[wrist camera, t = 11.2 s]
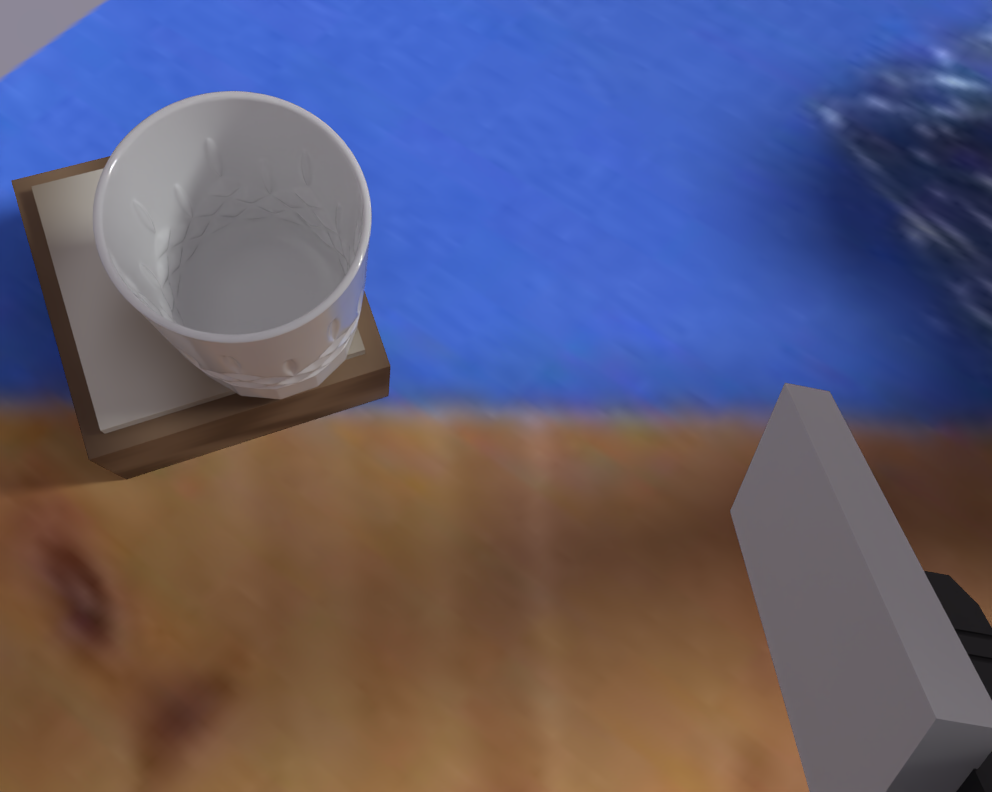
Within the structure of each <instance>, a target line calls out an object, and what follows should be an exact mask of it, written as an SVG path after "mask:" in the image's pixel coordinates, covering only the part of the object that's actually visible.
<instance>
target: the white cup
mask: <svg viewBox="0 0 992 792" xmlns="http://www.w3.org/2000/svg"><path fill="white" fill-rule="evenodd" d="M93 231H94V238H95V243H96V247H97V250H98V254H99V257H100V259H101V262H102V264H103V266H104V268H105V270H106V272H107V274H108V276H109V278H110V279H111V281H112V282H113V284H114V285H115V287H116V288H117V289H118V291H119V292H120V293H121V294H122V295H123V297H124V298H125V299H126V300H127V301H128V302H129V303H130V304H131V305H132V306H133V307H134V308H135V309H136V310H137V311H138V312H139V313H140V314H141V315H142V316H143V317H144V318H145V319H146V320H147V321H148V322H149V323H150V324H151V325H152V326H153V327H154V328H155V329H156V330H157V331H158V332H159V333H160V334H161V335H162V336H163V337H164V338H165V339H166V340H167V341H168V342H169V343H170V344H171V345H172V346H173V347H174V348H175V349H176V350H177V351H179V352H180V353H181V354H182V355H183V356H184V357H185V358H186V359H188V360H189V361H190V362H191V363H192V364H194V365H195V366H196V367H197V368H199V369H200V370H201V371H203V372H204V373H205V374H206V375H207V376H208V377H210V378H211V379H213V380H215V381H217V382H218V383H220V384H222V385H223V386H225V387H227V388H228V389H230V390H232V391H234V392H235V393H237V394H239V395H241V396H248V397H259V398H270V399H284V398H287V397H289V396H292V395H295V394H298V393H301V392H304V391H307V390H310V389H312V388H315V387H318V386H319V385H320V384H321V383H322V382H323V381H324V380H325V379H326V378H327V377H328V376H329V375H330V374H332V373H333V372H334V371H335V370H336V369H337V368H338V367H339V366H340V365H341V364H342V363H343V362H344V361H345V360H346V357H347V354H348V352H349V349H350V346H351V343H352V340H353V338H354V335H355V332H356V329H357V326H358V320H359V316H360V312H361V307H362V301H363V295H364V289H365V282H366V271H367V260H368V249H369V240H370V231H371V203H370V196H369V191H368V187H367V184H366V180H365V178H364V175H363V172H362V170H361V168H360V166H359V164H358V162H357V160H356V158H355V157H354V155H353V153H352V152H351V150H350V149H349V148H348V146H347V145H346V144H345V142H344V141H343V140H342V139H341V138H340V137H339V136H338V134H337V133H336V132H335V131H334V130H332V129H331V128H330V127H329V126H328V125H327V124H326V123H324V122H323V121H322V120H320V119H319V118H318V117H316V116H315V115H313V114H312V113H310V112H308V111H307V110H305V109H303V108H301V107H299V106H297V105H295V104H293V103H290V102H288V101H285V100H282V99H279V98H276V97H272V96H268V95H264V94H259V93H252V92H241V91H225V92H213V93H207V94H202V95H197V96H193V97H189V98H186V99H183V100H180V101H178V102H175V103H173V104H170V105H168V106H166V107H164V108H162V109H160V110H159V111H157V112H155V113H154V114H152V115H150V116H149V117H147V118H146V119H145V120H143V121H142V122H141V123H139V124H138V125H137V126H136V127H135V128H134V129H132V130H131V131H130V132H129V133H128V134H127V135H126V136H125V138H124V139H123V140H122V141H121V142H120V143H119V145H118V146H117V147H116V149H115V150H114V151H113V153H112V155H111V156H110V158H109V159H108V161H107V163H106V165H105V167H104V169H103V171H102V174H101V176H100V179H99V182H98V185H97V189H96V193H95V198H94V204H93Z"/></svg>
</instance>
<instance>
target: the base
mask: <svg viewBox="0 0 992 792" xmlns="http://www.w3.org/2000/svg"><path fill="white" fill-rule="evenodd" d="M109 158H110V156H109V157H105V158H101V159H97V160H93V161H89V162H85V163H81V164H77V165H73V166H69V167H65V168H61V169H57V170H53V171H49V172H44V173H40V174H36V175H32V176H28V177H24V178H20V179H16V180H12V185H13V188H14V192H15V196H16V199H17V203H18V206H19V210H20V213H21V217H22V221H23V224H24V228H25V231H26V235H27V239H28V242H29V246H30V249H31V253H32V257H33V260H34V264H35V267H36V271H37V275H38V278H39V282H40V285H41V289H42V293H43V296H44V300H45V303H46V307H47V310H48V314H49V318H50V321H51V325H52V328H53V332H54V336H55V339H56V343H57V346H58V350H59V354H60V357H61V361H62V364H63V368H64V372H65V375H66V379H67V382H68V386H69V389H70V393H71V397H72V400H73V404H74V407H75V411H76V415H77V418H78V422H79V425H80V429H81V433H82V436H83V440H84V443H85V447H86V451H87V454H88V458H89V460H90V461H92V462H94V463H96V464H98V465H100V466H102V467H104V468H106V469H108V470H110V471H112V472H114V473H116V474H118V475H120V476H121V477H123V478H125V479H129V478H132V477H135V476H138V475H141V474H145V473H148V472H151V471H154V470H157V469H160V468H163V467H167V466H170V465H173V464H176V463H179V462H182V461H185V460H189V459H192V458H195V457H198V456H201V455H204V454H207V453H211V452H214V451H217V450H220V449H223V448H226V447H229V446H233V445H236V444H239V443H242V442H245V441H248V440H251V439H255V438H258V437H261V436H264V435H267V434H270V433H273V432H277V431H280V430H283V429H286V428H289V427H292V426H295V425H299V424H302V423H305V422H308V421H311V420H314V419H317V418H321V417H324V416H327V415H330V414H333V413H336V412H339V411H343V410H346V409H349V408H352V407H355V406H358V405H361V404H365V403H368V402H371V401H374V400H377V399H380V398H383V397H387V396H388V394H389V379H390V364H389V361H388V358H387V355H386V352H385V349H384V346H383V343H382V340H381V337H380V335H379V332H378V329H377V326H376V323H375V320H374V317H373V314H372V311H371V309H370V306H369V303H368V300H367V297H366V294H365V291H364V295H363V301H362V307H361V312H360V316H359V320H358V326H357V329H356V332H355V335H354V338H353V340H352V343H351V346H350V349H349V352H348V354H347V357H346V360H345V361H344V362H343V363H342V364H341V365H340V366H339V367H338V368H337V369H336V370H335V371H334V372H333V373H332V374H330V375H329V376H328V377H327V378H326V379H325V380H324V381H323V382H322V383H321V384H320V385H319V386H318V387H315V388H312V389H310V390H307V391H304V392H301V393H298V394H295V395H292V396H289V397H287V398H284V399H270V398H259V397H248V396H241V395H239V394H237V393H235V392H234V391H232V390H230V389H228V388H227V387H225V386H223V385H222V384H220V383H218V382H217V381H215V380H213V379H211V378H210V377H208V376H207V375H206V374H205V373H204V372H203V371H201V370H200V369H199V368H197V367H196V366H195V365H194V364H192V363H191V362H190V361H189V360H188V359H186V358H185V357H184V356H183V355H182V354H181V353H180V352H179V351H177V350H176V349H175V348H174V347H173V346H172V345H171V344H170V343H169V342H168V341H167V340H166V339H165V338H164V337H163V336H162V335H161V334H160V333H159V332H158V331H157V330H156V329H155V328H154V327H153V326H152V325H151V324H150V323H149V322H148V321H147V320H146V319H145V318H144V317H143V316H142V315H141V314H140V313H139V312H138V311H137V310H136V309H135V308H134V307H133V306H132V305H131V304H130V303H129V302H128V301H127V300H126V299H125V298H124V297H123V295H122V294H121V293H120V292H119V291H118V289H117V288H116V287H115V285H114V284H113V282H112V281H111V279H110V278H109V276H108V274H107V272H106V270H105V268H104V266H103V264H102V262H101V259H100V257H99V254H98V250H97V247H96V243H95V238H94V231H93V204H94V198H95V193H96V189H97V185H98V182H99V179H100V176H101V174H102V171H103V169H104V167H105V165H106V163H107V161H108V159H109Z"/></svg>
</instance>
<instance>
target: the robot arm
mask: <svg viewBox="0 0 992 792" xmlns="http://www.w3.org/2000/svg"><path fill="white" fill-rule="evenodd" d="M730 513H731V516H732V520H733V523H734V527H735V530H736V534H737V537H738V541H739V544H740V548H741V551H742V555H743V558H744V562H745V565H746V569H747V572H748V576H749V580H750V583H751V587H752V590H753V594H754V597H755V601H756V604H757V608H758V611H759V615H760V618H761V622H762V625H763V629H764V632H765V636H766V639H767V643H768V646H769V650H770V653H771V657H772V660H773V664H774V667H775V671H776V674H777V678H778V682H779V685H780V689H781V692H782V696H783V699H784V703H785V706H786V710H787V713H788V717H789V720H790V724H791V727H792V731H793V734H794V738H795V741H796V745H797V748H798V752H799V755H800V759H801V762H802V766H803V769H804V773H805V777H806V780H807V784H808V787H809V791H810V792H992V628H991V626H990V624H989V622H988V621H987V619H986V617H985V615H984V614H983V612H982V610H981V608H980V607H979V605H978V604H977V603H976V602H975V601H974V600H973V599H972V598H971V597H970V596H969V595H968V594H967V593H966V592H965V591H964V590H963V589H962V588H961V587H960V586H959V585H958V584H957V583H956V582H955V581H954V580H953V579H952V578H951V577H950V576H949V575H944V574H939V573H933V572H927V571H924V570H923V569H922V567H921V565H920V563H919V561H918V559H917V557H916V555H915V553H914V551H913V549H912V548H911V546H910V544H909V542H908V540H907V538H906V536H905V534H904V532H903V530H902V528H901V527H900V525H899V523H898V521H897V519H896V517H895V515H894V513H893V511H892V509H891V508H890V506H889V504H888V502H887V500H886V498H885V496H884V494H883V492H882V490H881V488H880V487H879V485H878V483H877V481H876V479H875V477H874V475H873V473H872V471H871V469H870V467H869V466H868V464H867V462H866V460H865V458H864V456H863V454H862V452H861V450H860V448H859V447H858V445H857V443H856V441H855V439H854V437H853V435H852V433H851V431H850V429H849V427H848V426H847V424H846V422H845V420H844V418H843V416H842V414H841V412H840V410H839V408H838V406H837V405H836V403H835V401H834V399H833V397H832V395H831V393H830V391H825V390H820V389H814V388H809V387H804V386H799V385H793V384H788V383H785V384H784V386H783V389H782V391H781V393H780V396H779V398H778V400H777V403H776V405H775V407H774V410H773V412H772V414H771V417H770V419H769V421H768V424H767V426H766V428H765V431H764V433H763V435H762V438H761V440H760V442H759V445H758V447H757V449H756V452H755V454H754V456H753V459H752V461H751V463H750V466H749V468H748V471H747V473H746V475H745V478H744V480H743V482H742V485H741V487H740V489H739V492H738V494H737V496H736V499H735V501H734V503H733V506H732V508H731V510H730Z"/></svg>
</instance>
